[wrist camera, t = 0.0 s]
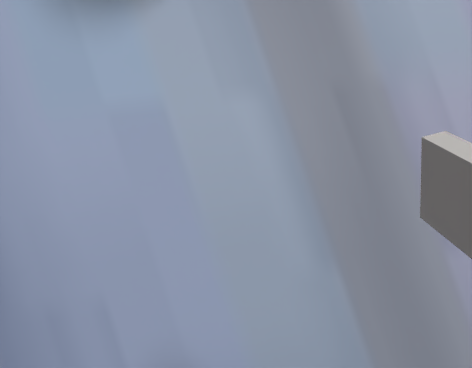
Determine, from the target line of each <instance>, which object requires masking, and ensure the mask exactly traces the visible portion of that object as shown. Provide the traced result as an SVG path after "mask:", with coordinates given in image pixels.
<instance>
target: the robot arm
mask: <svg viewBox="0 0 472 368" xmlns="http://www.w3.org/2000/svg"><path fill="white" fill-rule="evenodd" d="M420 218H422V219H423V220H424V221H425V222H426V223H428V224H429V225H430V226H431V227H433V228H434V229H435V230H436V231H438V232H439V233H440V234H441V235H443V236H444V237H445V238H446V239H448V240H449V241H450V242H451V243H453V244H454V245H455V246H456V247H458V248H459V249H460V250H461V251H462V252H464V253H465V254H466V255H467V256H469V257H470V258H471V259H472V143H470V142H468V141H466V140H464V139H461V138H459V137H457V136H455V135H453V134H451V133H449V132H446V131H444V132H440V133H436V134H432V135H428V136H424V137H422V156H421V206H420Z"/></svg>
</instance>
